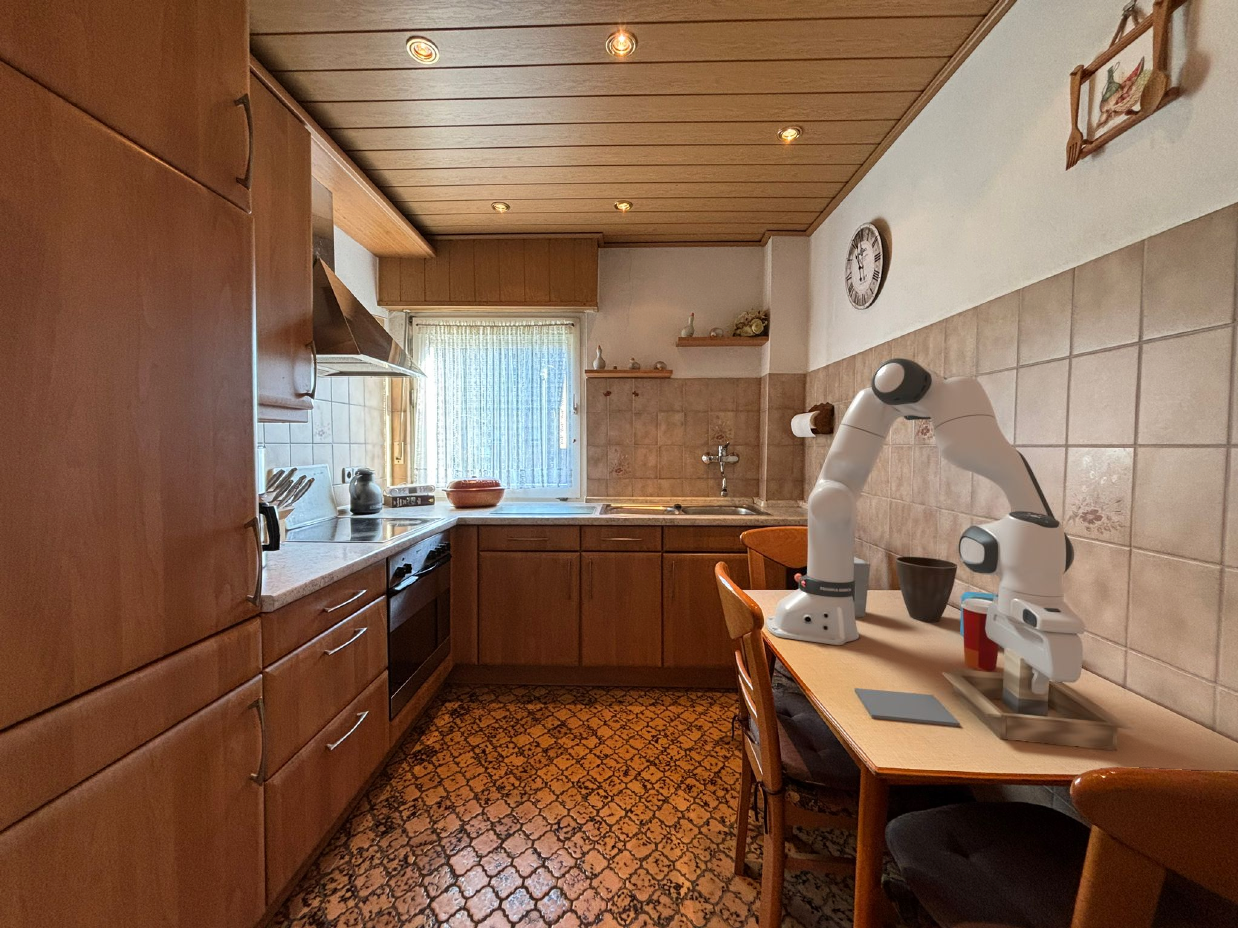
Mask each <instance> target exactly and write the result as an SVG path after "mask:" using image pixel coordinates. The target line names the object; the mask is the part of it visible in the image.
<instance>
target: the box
mask: <svg viewBox="0 0 1238 928" xmlns="http://www.w3.org/2000/svg"><path fill="white" fill-rule="evenodd" d="M1003 662H1004V663H1003V664H1004V665H1003V673H1004V678H1003V698H1002V704H1004V705H1005V706H1006V707H1007V708H1008V709H1009V710H1011V711H1012V712H1013V714H1022V715H1033V716H1044V717H1048V707H1049V705H1048V691H1049V681H1050V680H1049V681H1048V683H1047V684H1046V686H1045V693H1044V694H1035V693H1034V692H1032V691H1031V690H1030V689H1029V688H1028V685H1029V684H1028V679H1029V680H1032V678H1033V676H1034V673H1033V672H1032V667H1031V666H1030V665H1028V664H1027V663H1025V662H1024V659H1023V658H1022V657H1021V656H1019V655H1018V654H1016V653H1015V652H1013V651H1012V650H1010V649H1008V648H1005V655H1004V661H1003Z"/></svg>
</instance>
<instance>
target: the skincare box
mask: <svg viewBox="0 0 1238 928" xmlns="http://www.w3.org/2000/svg"><path fill="white" fill-rule="evenodd" d="M870 568H871V564H870V563H869V562H867V561H864V559H860V558H858V557H855V556H854V580H855V585H856V595H855V601H854V613H855V618H857V617H859V618H861V617H862V618H865V617H866V612H867V611H866V610H867V609H866V608H867V600H868V599H867V598H868V588H869V579H870Z"/></svg>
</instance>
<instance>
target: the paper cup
mask: <svg viewBox="0 0 1238 928" xmlns="http://www.w3.org/2000/svg"><path fill="white" fill-rule="evenodd" d="M962 603H963V604H961V603H960V608H961V607H963V633H964V637H963V655H964V656H963V657H964V664H965V666H967V667H969V668H971V669H974V670H975V671H983V672H994V671H996V670H997V665H998V664H997V663H998V655H999V645H998V644H997V643H995V642H994V641H992V640H991V639H989V638H988V637H987V634H986V631H985V627H986V619H987V612H988V608H989V605H990V604H991V603H992V601H988V600H982V599H965V600H964V601H963V602H962Z"/></svg>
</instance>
